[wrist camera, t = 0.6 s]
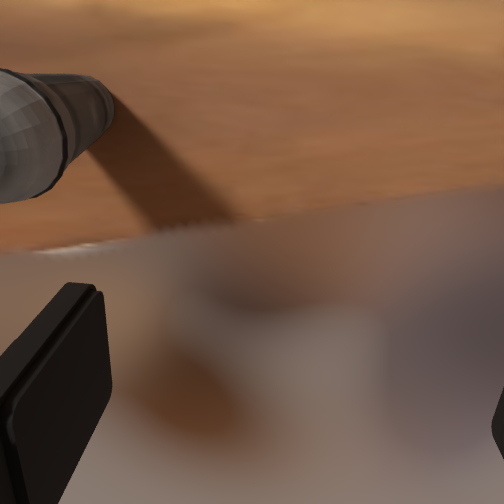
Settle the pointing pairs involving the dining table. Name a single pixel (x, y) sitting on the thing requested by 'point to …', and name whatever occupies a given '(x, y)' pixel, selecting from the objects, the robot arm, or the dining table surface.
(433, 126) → the dining table surface
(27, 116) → the beverage cup
